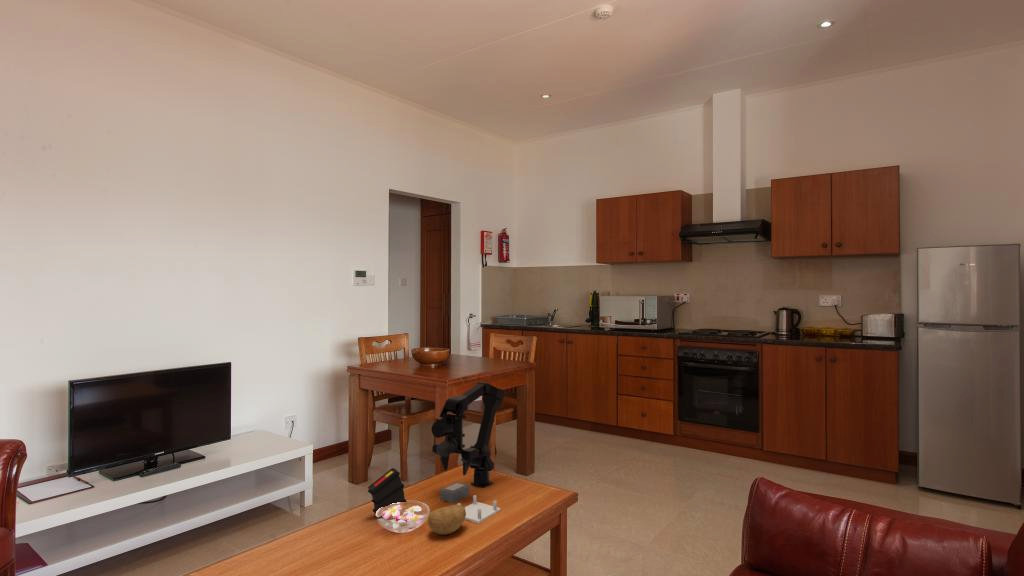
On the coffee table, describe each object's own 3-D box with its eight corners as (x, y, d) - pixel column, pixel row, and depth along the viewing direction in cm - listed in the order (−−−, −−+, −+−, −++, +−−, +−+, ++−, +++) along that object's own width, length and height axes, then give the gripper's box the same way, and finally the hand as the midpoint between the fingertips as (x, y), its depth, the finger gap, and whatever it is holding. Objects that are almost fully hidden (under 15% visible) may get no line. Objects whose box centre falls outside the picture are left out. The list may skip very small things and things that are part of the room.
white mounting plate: (475, 503, 194) (475, 493, 194) (500, 510, 188) (500, 499, 188) (453, 515, 183) (453, 504, 183) (478, 523, 177) (478, 512, 177)
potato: (473, 529, 173) (474, 505, 173) (439, 544, 163) (439, 518, 163) (455, 520, 179) (455, 497, 180) (420, 534, 169) (421, 509, 170)
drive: (457, 492, 206) (457, 481, 206) (469, 495, 203) (469, 484, 203) (440, 500, 198) (440, 489, 198) (452, 504, 195) (452, 492, 195)
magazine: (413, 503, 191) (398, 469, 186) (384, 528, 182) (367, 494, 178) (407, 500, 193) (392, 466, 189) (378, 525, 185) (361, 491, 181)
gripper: (422, 432, 199) (422, 474, 199) (460, 440, 189) (460, 484, 189) (441, 426, 209) (441, 466, 208) (479, 433, 198) (479, 475, 198)
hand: (455, 472), depth 201 cm, fingers open, 9 cm apart
